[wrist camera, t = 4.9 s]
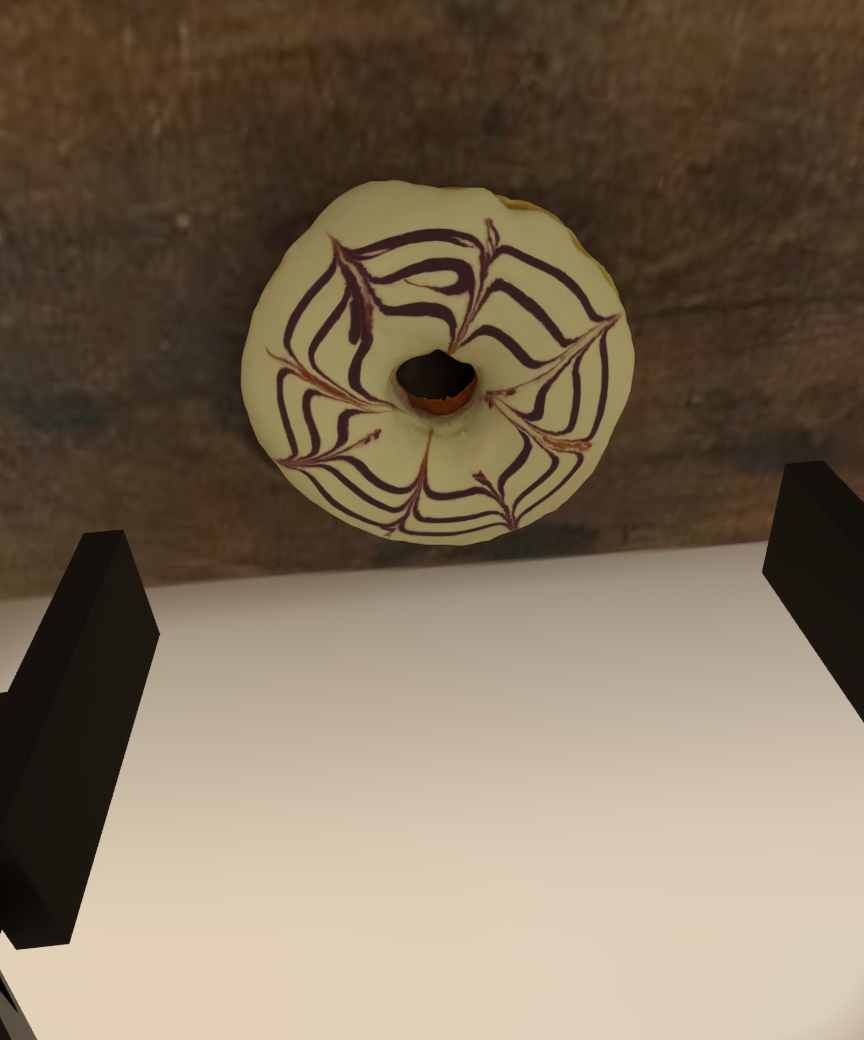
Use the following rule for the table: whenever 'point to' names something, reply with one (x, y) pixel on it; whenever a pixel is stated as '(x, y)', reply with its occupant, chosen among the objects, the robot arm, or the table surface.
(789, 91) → the table surface
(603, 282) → the decorated donut
